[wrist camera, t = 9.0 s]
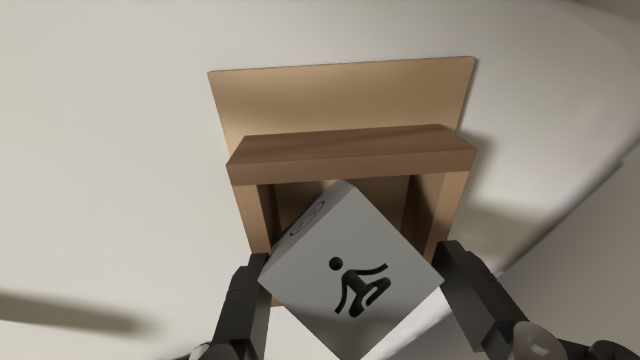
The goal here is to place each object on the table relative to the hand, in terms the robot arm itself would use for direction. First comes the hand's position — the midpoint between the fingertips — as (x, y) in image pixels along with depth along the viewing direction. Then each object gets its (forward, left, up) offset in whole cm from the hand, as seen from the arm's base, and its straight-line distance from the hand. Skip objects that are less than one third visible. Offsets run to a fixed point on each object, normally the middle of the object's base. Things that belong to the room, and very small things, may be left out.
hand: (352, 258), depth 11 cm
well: (0, 0, -5) cm, 5 cm away
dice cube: (+1, 0, -3) cm, 3 cm away
